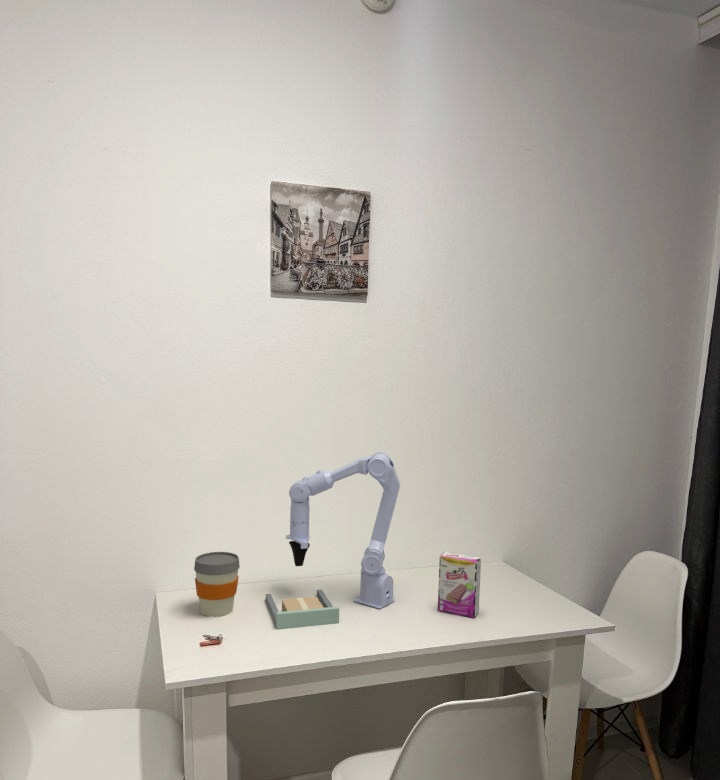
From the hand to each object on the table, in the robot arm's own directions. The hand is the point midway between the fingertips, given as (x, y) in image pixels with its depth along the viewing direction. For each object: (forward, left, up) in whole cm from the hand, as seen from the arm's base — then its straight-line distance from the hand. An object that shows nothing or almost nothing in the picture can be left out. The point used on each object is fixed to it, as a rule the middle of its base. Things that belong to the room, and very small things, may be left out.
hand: (298, 565), depth 192 cm
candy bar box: (-44, -20, -10) cm, 49 cm away
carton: (-11, +11, -10) cm, 18 cm away
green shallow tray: (-8, +8, -9) cm, 15 cm away
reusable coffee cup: (+10, +23, -10) cm, 27 cm away
